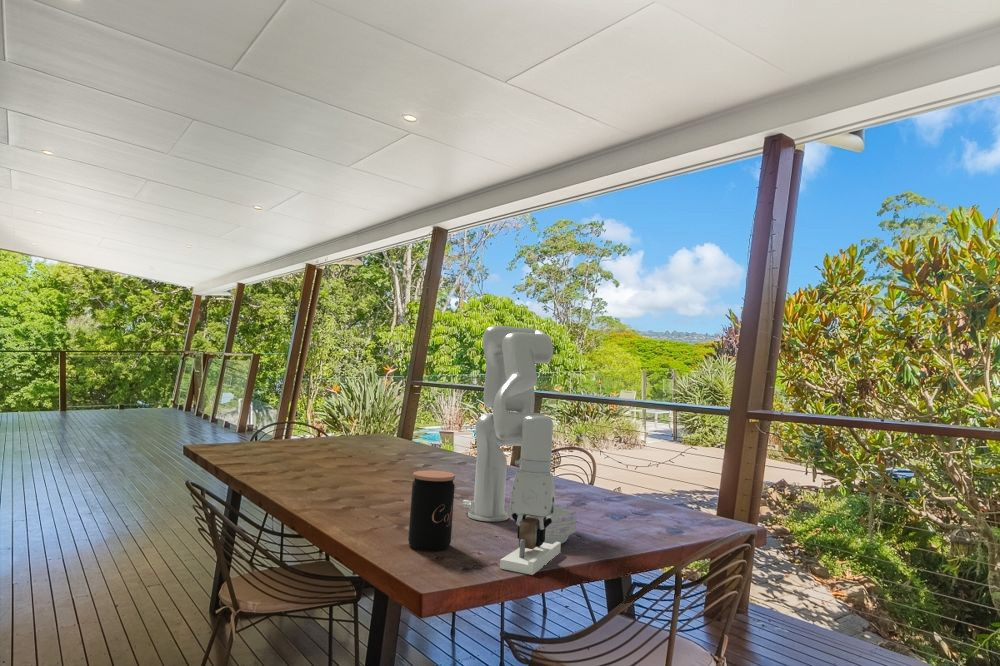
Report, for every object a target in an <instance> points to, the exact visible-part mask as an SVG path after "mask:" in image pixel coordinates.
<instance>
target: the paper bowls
mask: <svg viewBox="0 0 1000 666" xmlns="http://www.w3.org/2000/svg"><path fill="white" fill-rule="evenodd" d="M556 509H557V511H558V513H559V515H560V519H558V520H556V521H554V522H552V523H551V524H550V525H549V526H547V527H546V530H545V542H544V543H549V544H554V543H555V542H561V545H562V544H564V543H566V541H567V540H568V538H569V536H570V535H573V534H575V533H576V531H577V530H576V529H577V528H576V527H577V513H576V512H574V511H573V510H571V509H566V508H562V507H556ZM528 516H529V515H526V518H527V517H528ZM550 517H552V514H550V515H549V516H547V519H548V518H550Z"/></svg>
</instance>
